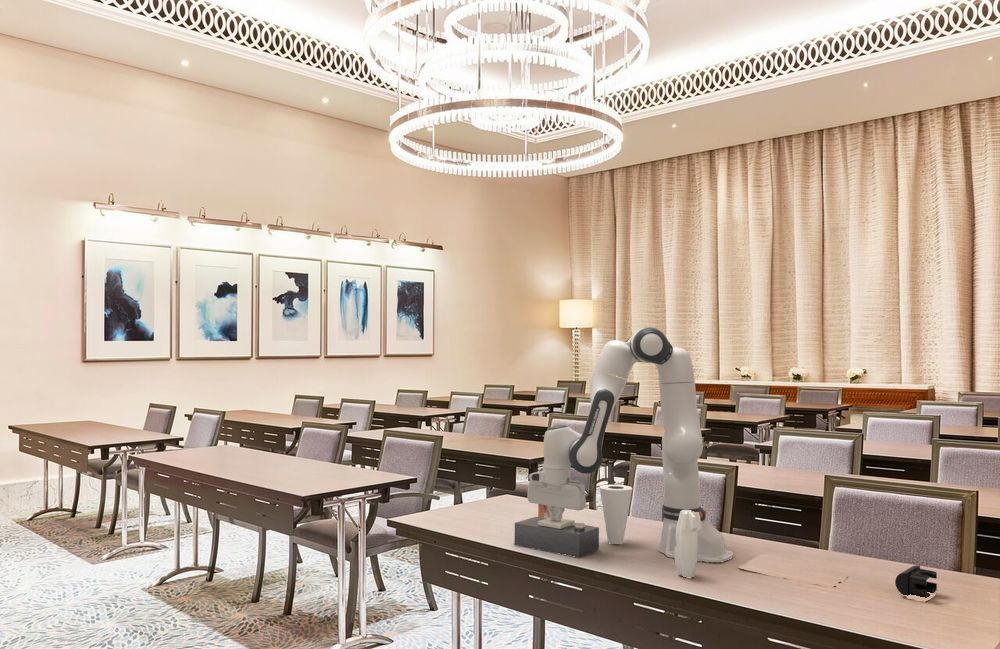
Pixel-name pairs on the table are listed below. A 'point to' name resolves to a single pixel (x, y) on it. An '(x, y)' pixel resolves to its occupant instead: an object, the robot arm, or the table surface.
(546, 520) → the push button
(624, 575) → the table surface
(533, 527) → the console
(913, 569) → the end cap
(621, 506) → the cup
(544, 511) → the small box
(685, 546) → the white spray bottle
